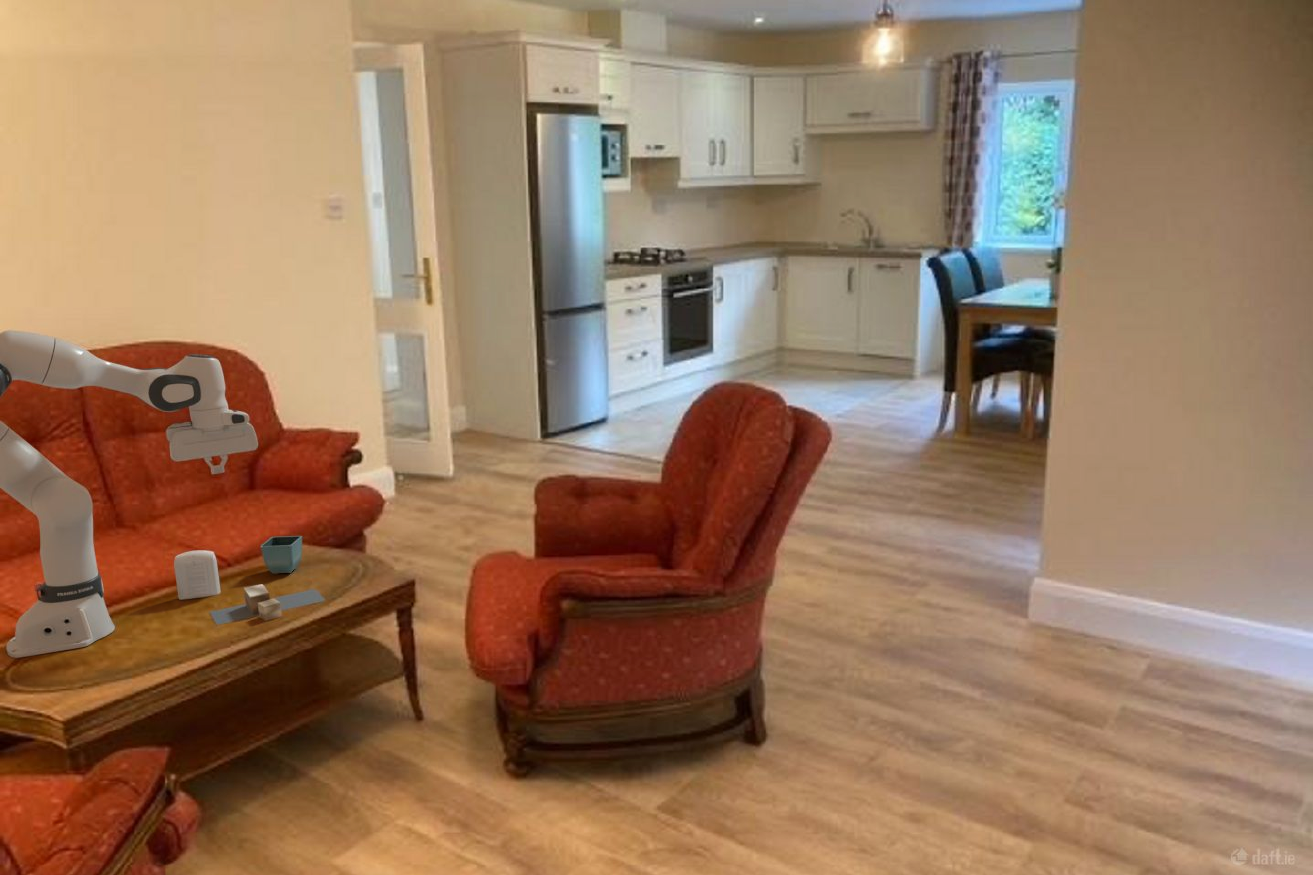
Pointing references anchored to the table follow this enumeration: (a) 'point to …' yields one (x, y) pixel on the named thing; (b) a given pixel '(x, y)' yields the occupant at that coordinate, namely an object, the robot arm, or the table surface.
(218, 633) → the table surface
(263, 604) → the maple cube
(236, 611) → the mat
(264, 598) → the walnut block
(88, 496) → the robot arm
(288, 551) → the flower pot
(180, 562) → the white upright rounded block
